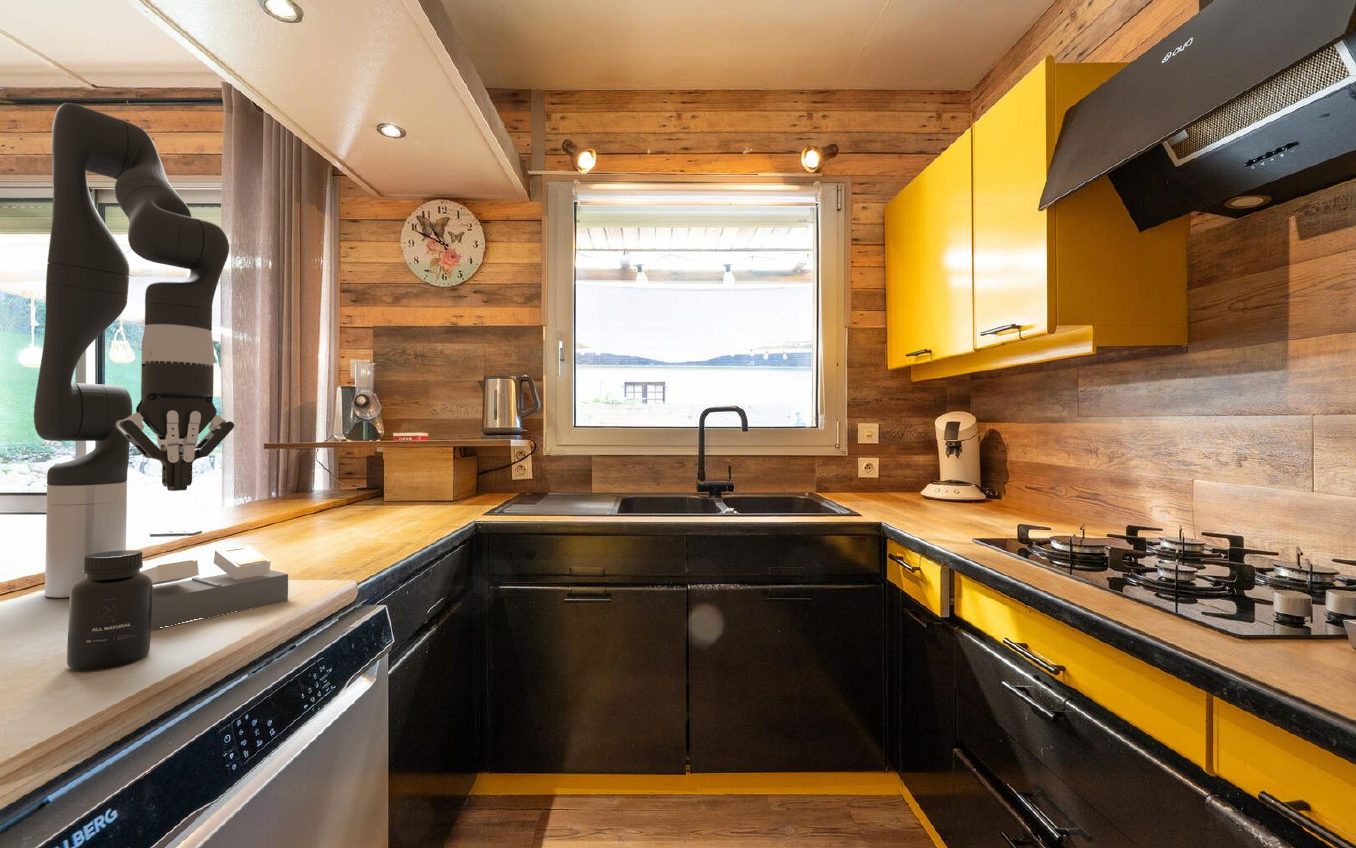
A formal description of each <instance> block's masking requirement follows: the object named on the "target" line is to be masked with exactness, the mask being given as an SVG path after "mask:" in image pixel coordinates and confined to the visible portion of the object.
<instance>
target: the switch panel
mask: <svg viewBox="0 0 1356 848" xmlns="http://www.w3.org/2000/svg"><path fill="white" fill-rule="evenodd" d="M288 595H289V574H288V573H284V572H280V571H276V570H272V569H270V570H269V574H266V575H260V576H255V577H249V578H244V579H238V580H235V579H233V578H232V577H231V576H230V575H228V574H227V573H224V574H218V575H213V576H207V577H202V578H201V577H198V576H197V577H196V576H195V577H191V579H189V580H182V581H176V582H170V583H164V584H158V585H153V593H152V617H151V630H152V631H154V630H153V629H157V630H159V629H158V628H160V627H165V626H170V627H172V626H171V625H175V624H178V623H182V622H186V621H190V620H194V619H199V618H206V619H209V618H208V617H211V618H214V617H213V616H216V617H218V616H217V615H220V616H223V615H222V614H225V615H228V614H227V613H229V614H232V613H231V612H234V613H236V612H235V611H238V612H241V611H242V610H243V611H246V610H250V608H252V609H256V608H259V606H261V607H265V606H268V605H269V604H270V605H273V604H278V603H282V602H288V600H289V596H288ZM255 607H256V608H255ZM175 626H176V625H175Z"/></svg>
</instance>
